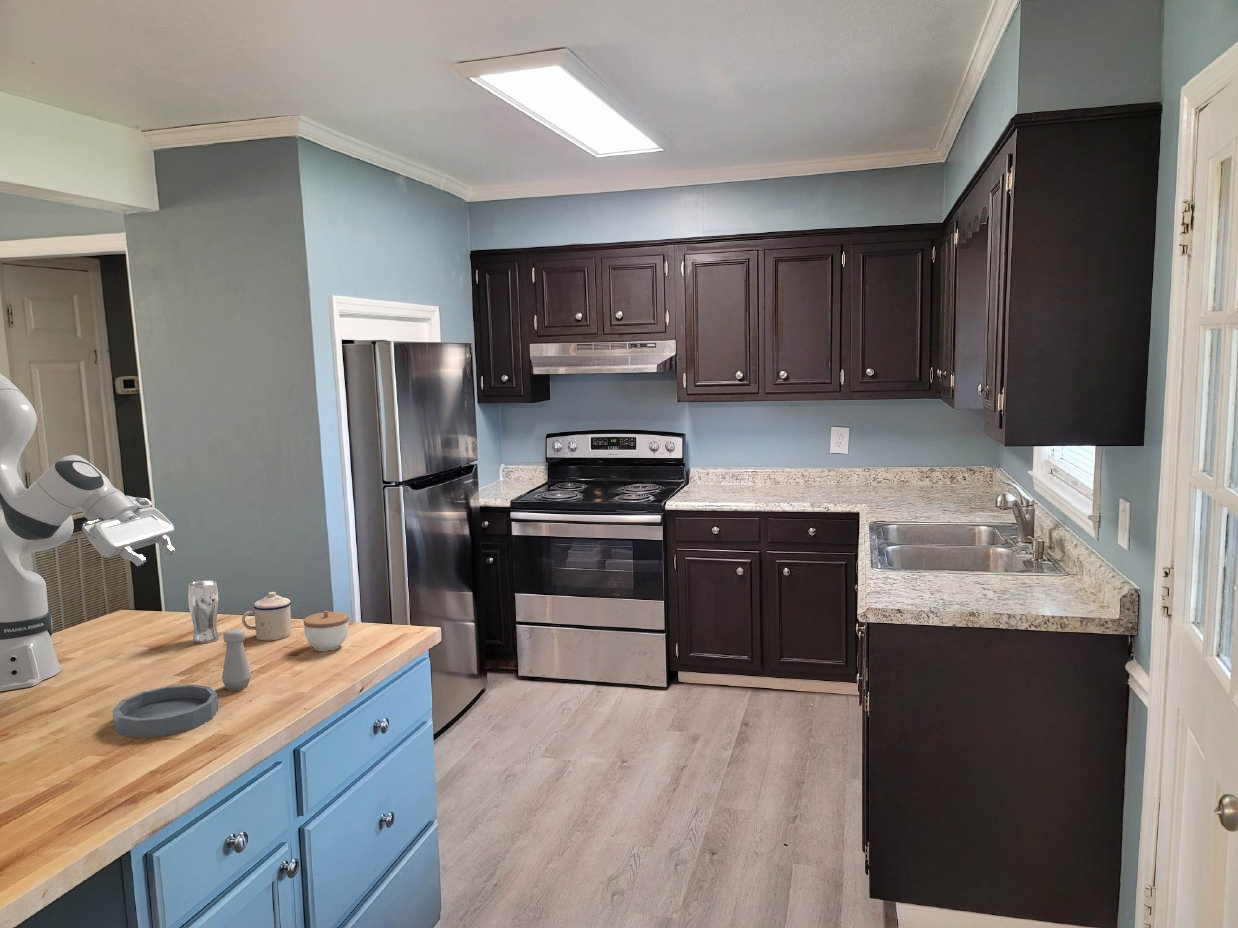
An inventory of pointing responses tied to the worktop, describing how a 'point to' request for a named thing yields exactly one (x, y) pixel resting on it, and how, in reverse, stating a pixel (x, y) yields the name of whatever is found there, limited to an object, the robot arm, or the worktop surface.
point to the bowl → (165, 711)
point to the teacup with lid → (271, 618)
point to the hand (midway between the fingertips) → (157, 558)
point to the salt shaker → (235, 661)
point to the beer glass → (203, 610)
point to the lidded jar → (326, 630)
